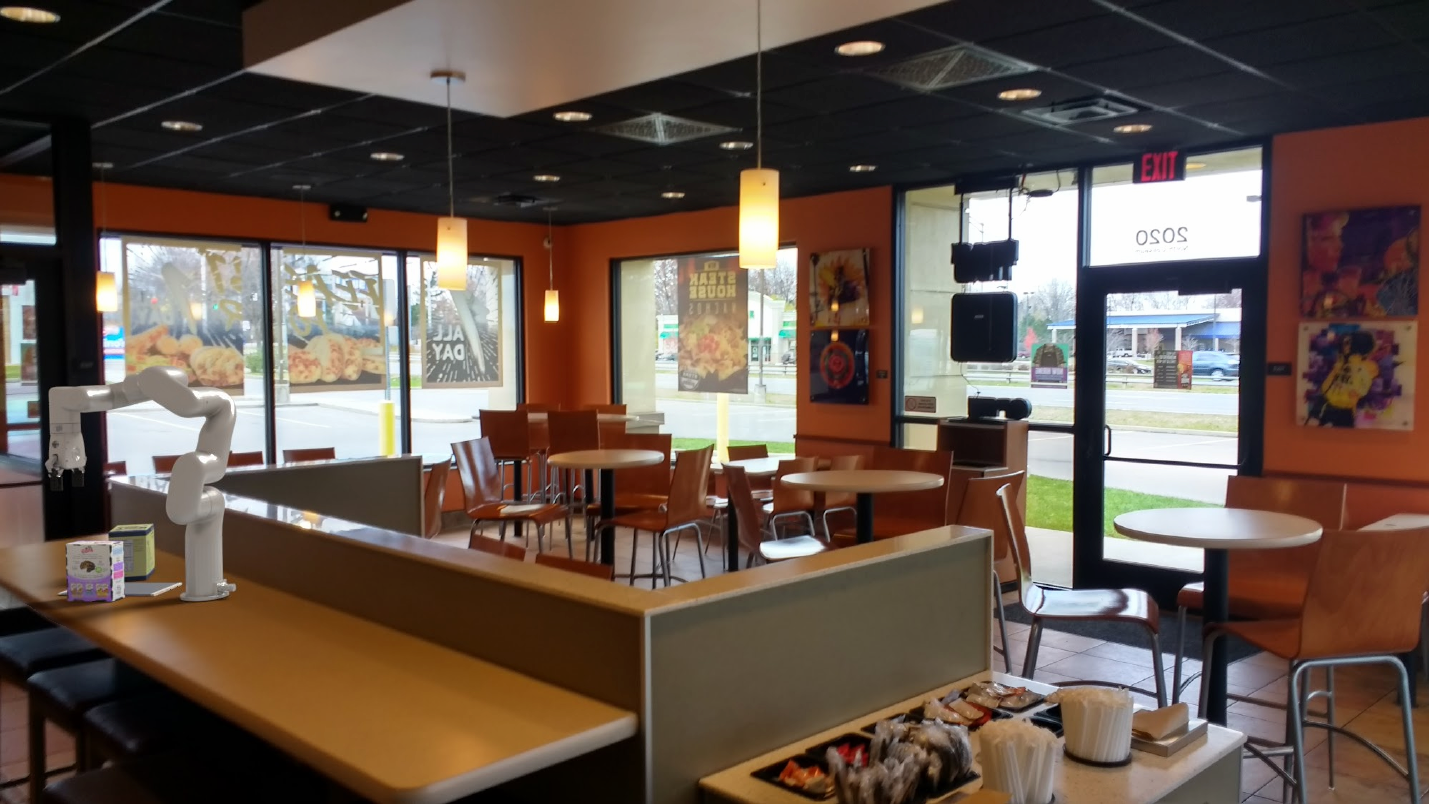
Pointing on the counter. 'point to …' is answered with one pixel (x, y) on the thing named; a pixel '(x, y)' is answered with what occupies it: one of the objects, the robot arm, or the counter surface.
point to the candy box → (95, 571)
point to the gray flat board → (144, 588)
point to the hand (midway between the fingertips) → (67, 488)
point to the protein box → (136, 549)
